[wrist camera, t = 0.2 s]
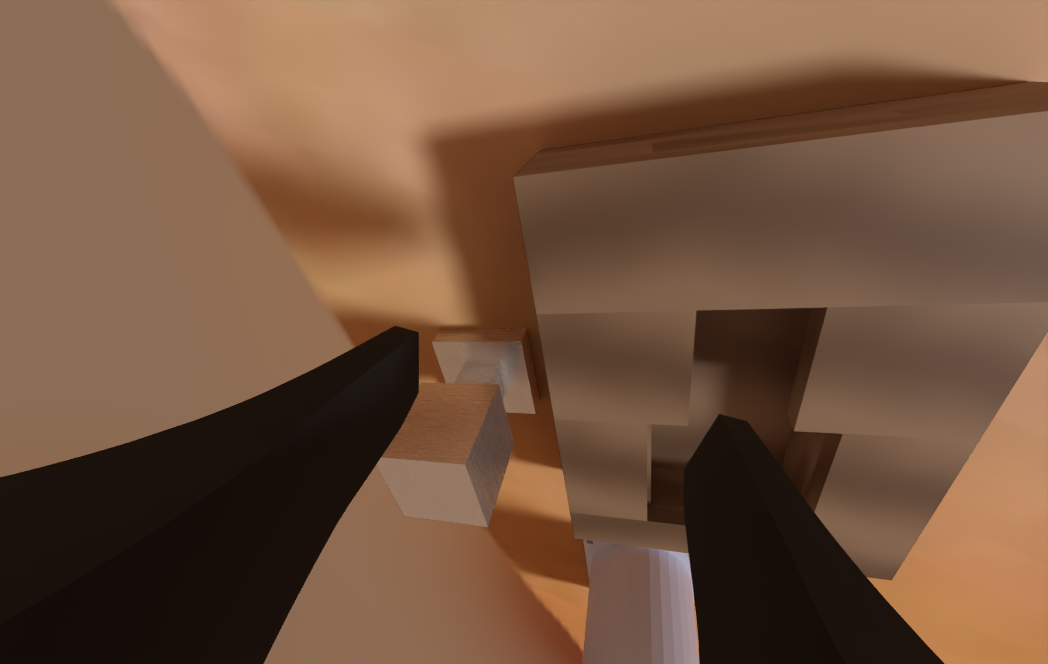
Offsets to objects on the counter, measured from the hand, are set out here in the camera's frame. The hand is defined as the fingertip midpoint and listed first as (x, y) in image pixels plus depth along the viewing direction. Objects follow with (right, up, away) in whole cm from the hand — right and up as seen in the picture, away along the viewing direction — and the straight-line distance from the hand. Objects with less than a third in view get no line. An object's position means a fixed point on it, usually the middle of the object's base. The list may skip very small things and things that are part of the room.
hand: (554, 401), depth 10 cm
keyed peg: (-3, 0, +13) cm, 14 cm away
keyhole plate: (+9, +1, +10) cm, 13 cm away
